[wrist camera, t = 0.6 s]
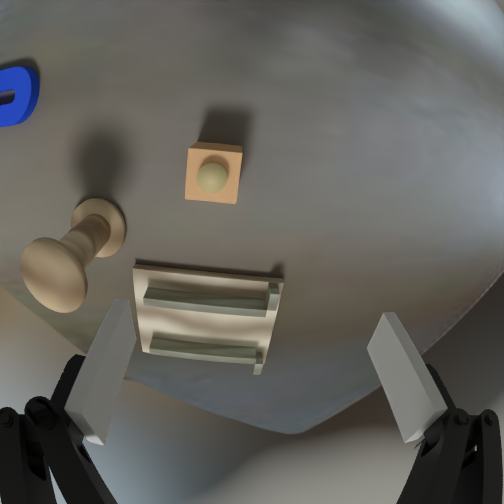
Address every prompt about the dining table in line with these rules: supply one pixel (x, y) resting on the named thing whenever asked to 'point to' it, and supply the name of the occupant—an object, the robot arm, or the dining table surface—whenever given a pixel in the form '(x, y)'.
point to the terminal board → (206, 314)
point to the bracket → (18, 94)
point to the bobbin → (72, 255)
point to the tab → (213, 172)
